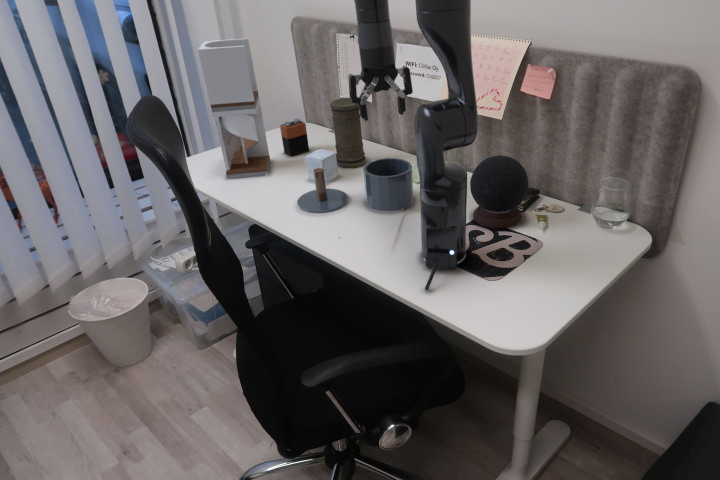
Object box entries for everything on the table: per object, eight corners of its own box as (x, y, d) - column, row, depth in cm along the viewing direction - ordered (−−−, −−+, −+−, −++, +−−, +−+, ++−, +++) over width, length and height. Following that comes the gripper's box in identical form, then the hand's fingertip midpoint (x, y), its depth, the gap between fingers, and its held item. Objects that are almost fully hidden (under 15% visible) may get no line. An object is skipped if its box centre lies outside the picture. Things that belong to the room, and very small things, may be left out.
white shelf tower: (227, 178, 158) (197, 49, 139) (232, 164, 167) (204, 41, 147) (267, 175, 159) (244, 46, 140) (270, 161, 168) (248, 38, 148)
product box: (339, 176, 155) (336, 152, 151) (325, 185, 151) (322, 159, 147) (322, 172, 158) (319, 148, 154) (308, 180, 154) (304, 155, 150)
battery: (310, 151, 173) (305, 119, 167) (290, 157, 169) (285, 125, 164) (302, 147, 176) (298, 116, 170) (283, 153, 172) (278, 121, 167)
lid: (341, 216, 136) (337, 181, 130) (291, 214, 138) (285, 180, 132) (353, 193, 146) (349, 160, 141) (306, 191, 148) (301, 159, 143)
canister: (409, 213, 135) (407, 177, 130) (362, 212, 137) (358, 176, 132) (415, 192, 145) (414, 158, 140) (371, 191, 147) (369, 157, 141)
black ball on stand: (476, 201, 139) (478, 144, 131) (529, 208, 135) (535, 149, 127) (463, 226, 129) (464, 166, 120) (520, 234, 124) (525, 172, 116)
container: (361, 169, 159) (356, 106, 149) (332, 167, 161) (324, 106, 151) (369, 157, 167) (364, 97, 157) (340, 156, 168) (334, 96, 159)
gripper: (347, 50, 116) (357, 126, 125) (412, 41, 119) (417, 116, 127) (340, 45, 122) (350, 117, 131) (402, 36, 125) (408, 108, 133)
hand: (383, 116), depth 129 cm, fingers open, 8 cm apart
